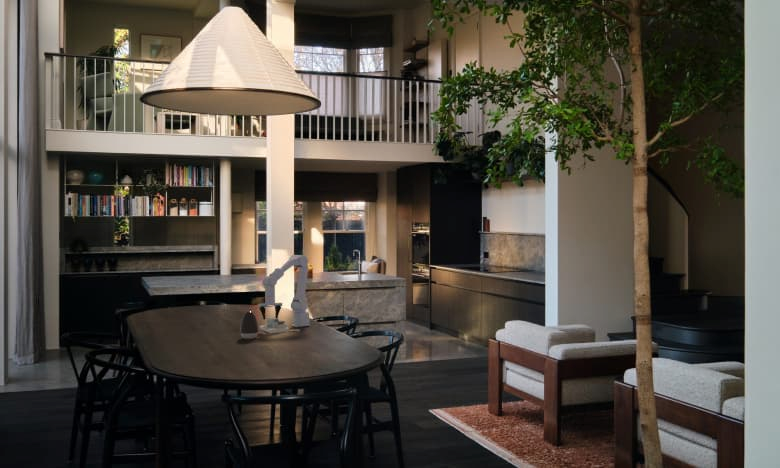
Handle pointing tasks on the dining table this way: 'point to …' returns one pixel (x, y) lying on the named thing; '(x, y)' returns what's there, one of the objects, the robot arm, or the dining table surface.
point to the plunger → (280, 322)
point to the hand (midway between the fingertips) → (270, 318)
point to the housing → (275, 328)
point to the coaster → (294, 330)
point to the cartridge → (270, 322)
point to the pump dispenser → (249, 326)
